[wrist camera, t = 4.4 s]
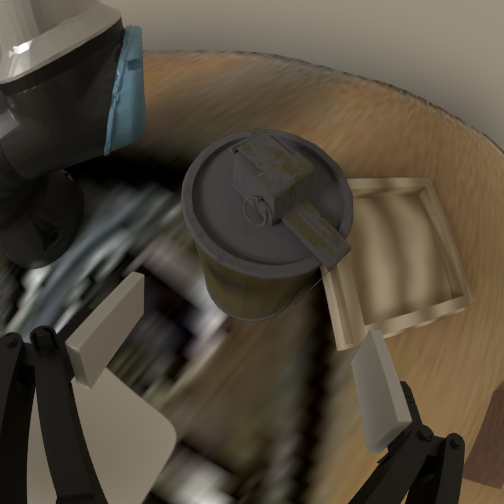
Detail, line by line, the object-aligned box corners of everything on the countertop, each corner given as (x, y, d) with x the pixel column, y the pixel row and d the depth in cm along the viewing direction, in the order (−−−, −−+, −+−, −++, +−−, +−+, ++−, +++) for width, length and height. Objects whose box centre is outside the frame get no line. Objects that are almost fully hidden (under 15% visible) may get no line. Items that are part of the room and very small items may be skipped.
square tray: (337, 350, 30) (351, 349, 26) (301, 195, 37) (308, 177, 33) (458, 312, 33) (476, 306, 29) (417, 189, 39) (430, 175, 36)
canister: (187, 269, 33) (137, 154, 14) (255, 217, 35) (278, 81, 17) (249, 344, 30) (277, 317, 11) (317, 283, 33) (409, 188, 14)
